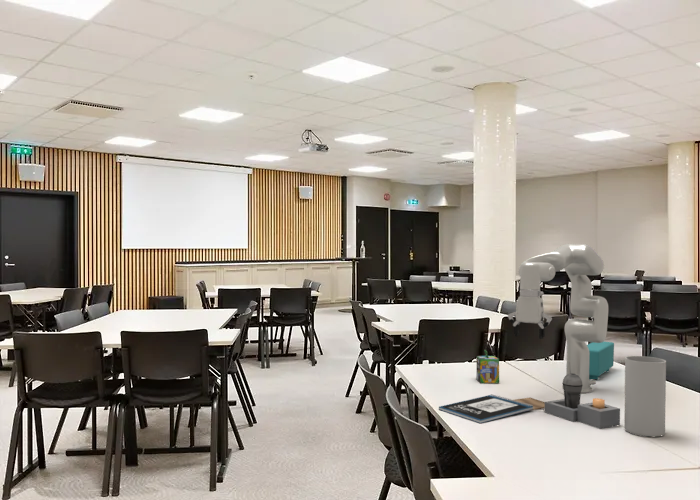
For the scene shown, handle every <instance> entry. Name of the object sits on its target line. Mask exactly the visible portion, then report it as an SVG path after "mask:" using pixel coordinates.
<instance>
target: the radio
mask: <svg viewBox="0 0 700 500" xmlns="http://www.w3.org/2000/svg"><path fill="white" fill-rule="evenodd" d="M586 345H587V347H588V349H589V380H590V379H597V380H598V379H599V377H600V376H601V375H603V374H604V373H605V371H610V369H611V368H613V367H614V361H615V360H614V357H615V353H614V352H615V343H614V342H612V341H605V340H604V341H603V342H601V343H594V342H589V343H588V344H586Z"/></svg>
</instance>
